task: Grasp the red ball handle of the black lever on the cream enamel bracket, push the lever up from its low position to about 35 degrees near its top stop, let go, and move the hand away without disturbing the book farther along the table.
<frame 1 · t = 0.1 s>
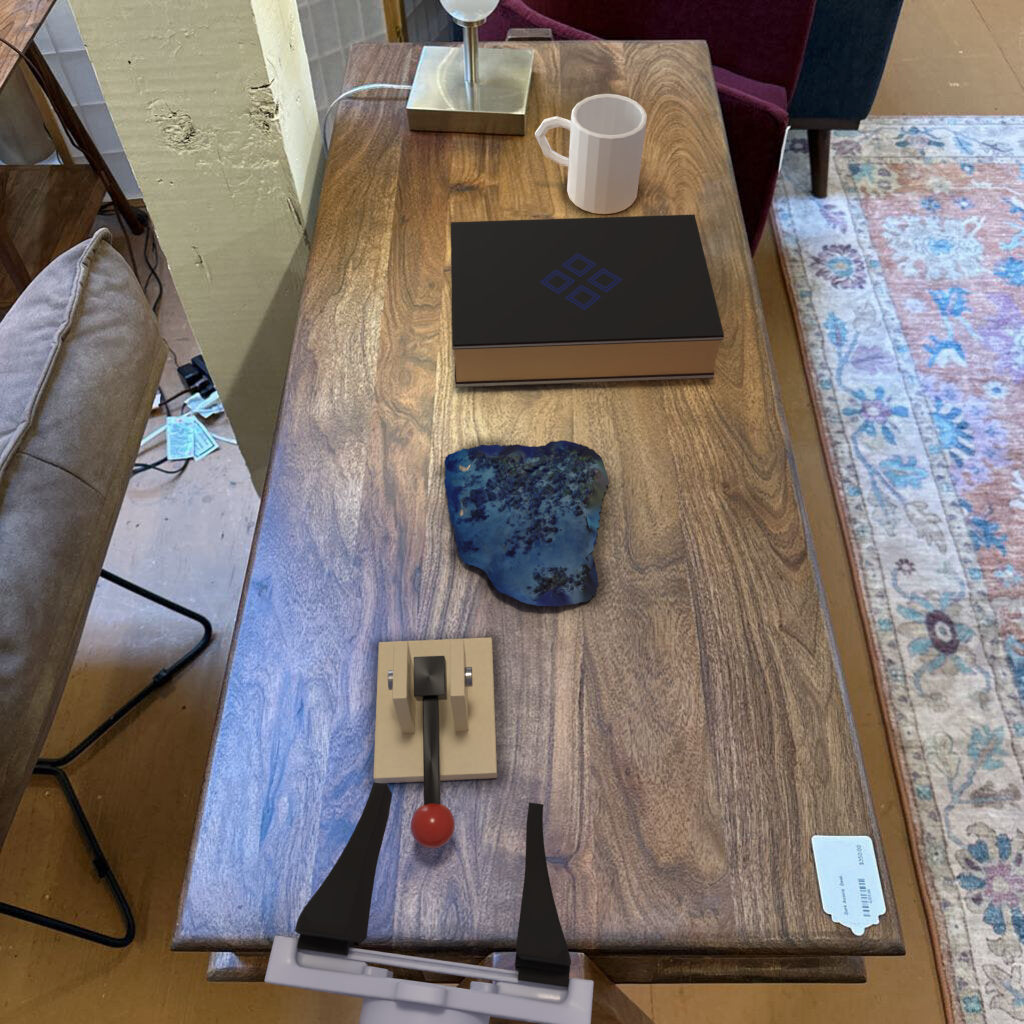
hand: (458, 797, 46), 22 cm above the table, tool horizontal, fingers open, 7 cm apart
lever: (431, 750, 65), point 5 cm above the table, hinge at -15.0°
mug: (585, 192, 107), on the table
rock: (528, 526, 81), on the table
book: (576, 327, 95), on the table
bracket: (436, 710, 71), on the table
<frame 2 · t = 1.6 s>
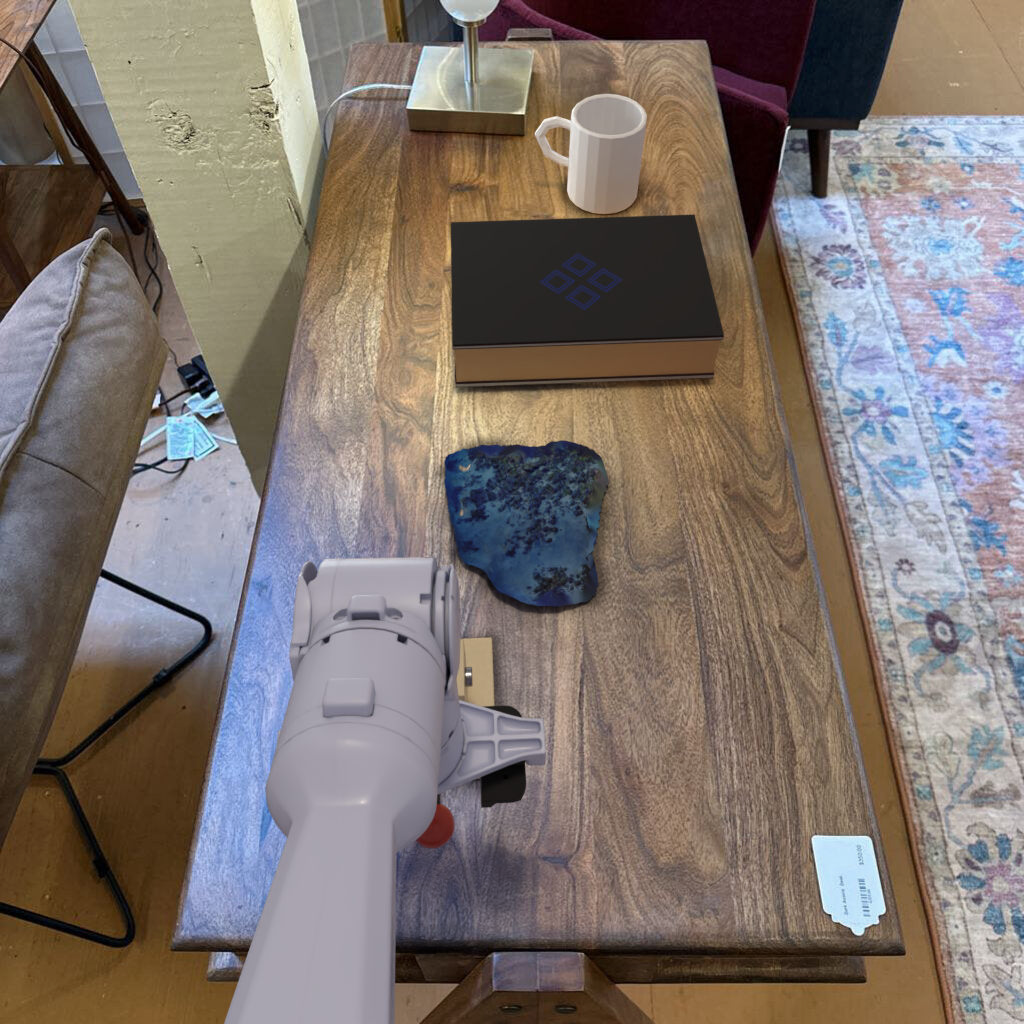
hand: (424, 794, 57), 10 cm above the table, tool pointing down, fingers open, 7 cm apart
nothing on the table moved.
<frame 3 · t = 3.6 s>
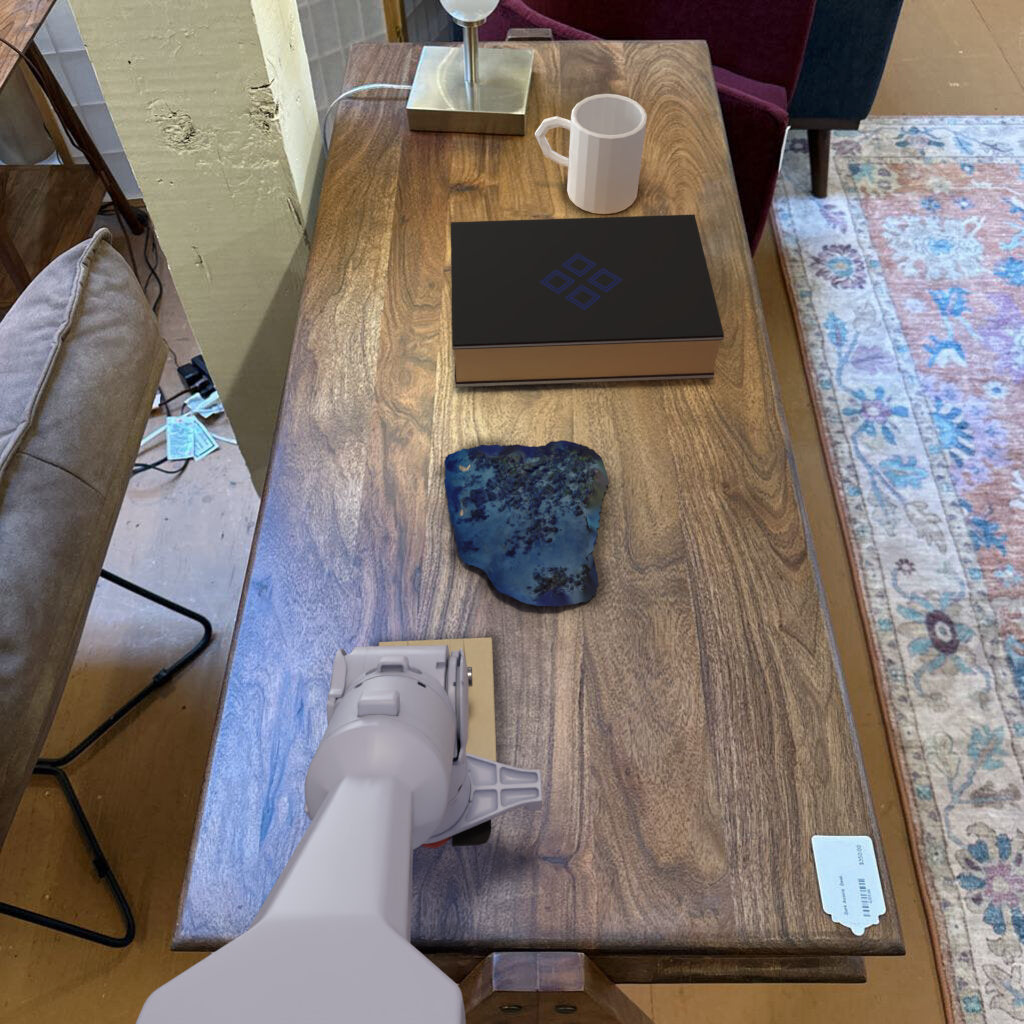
hand: (434, 831, 64), 2 cm above the table, tool pointing down, fingers closed on lever, 3 cm apart
lever: (431, 750, 65), point 5 cm above the table, hinge at -15.0°, touching gripper
everything else where it was.
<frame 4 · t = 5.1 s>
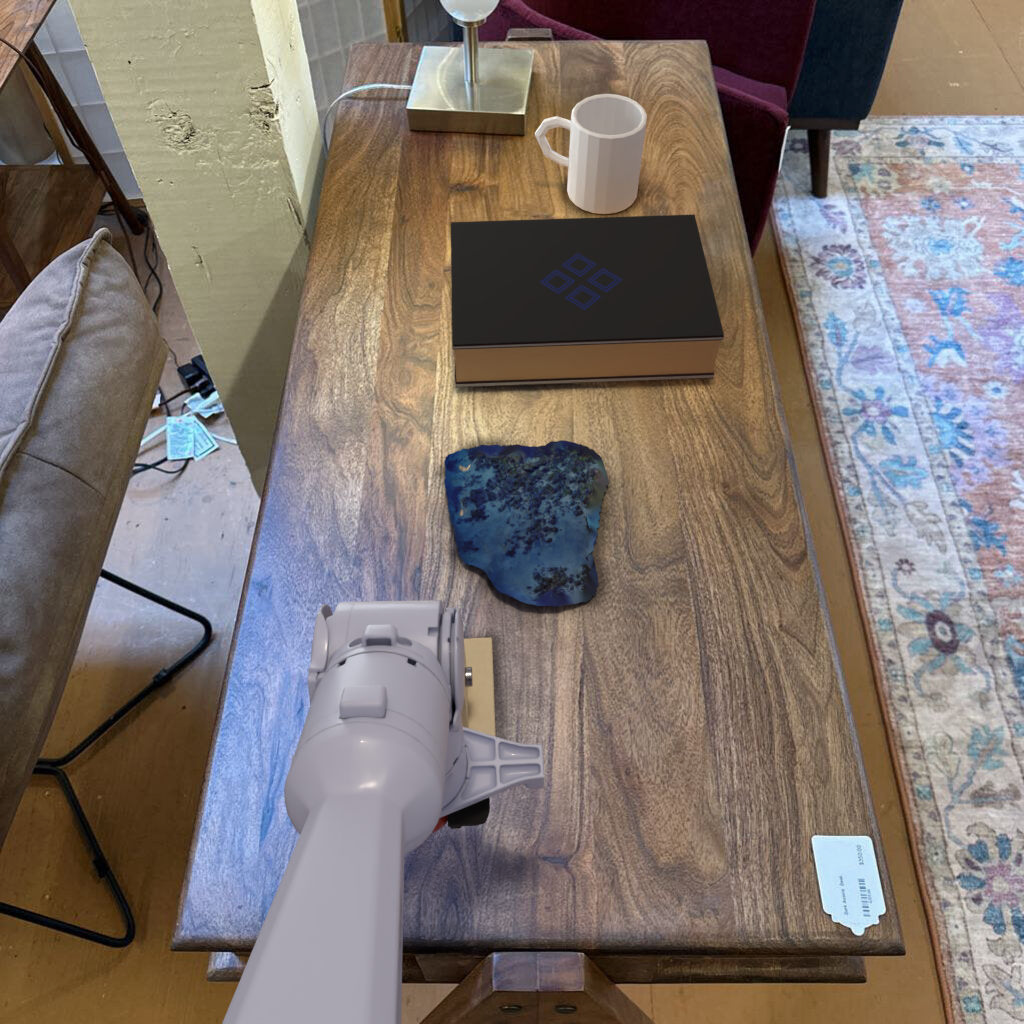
hand: (429, 814, 60), 6 cm above the table, tool pointing down, fingers closed on lever, 3 cm apart
lever: (429, 740, 63), point 7 cm above the table, hinge at 10.4°, touching gripper
everything else where it was.
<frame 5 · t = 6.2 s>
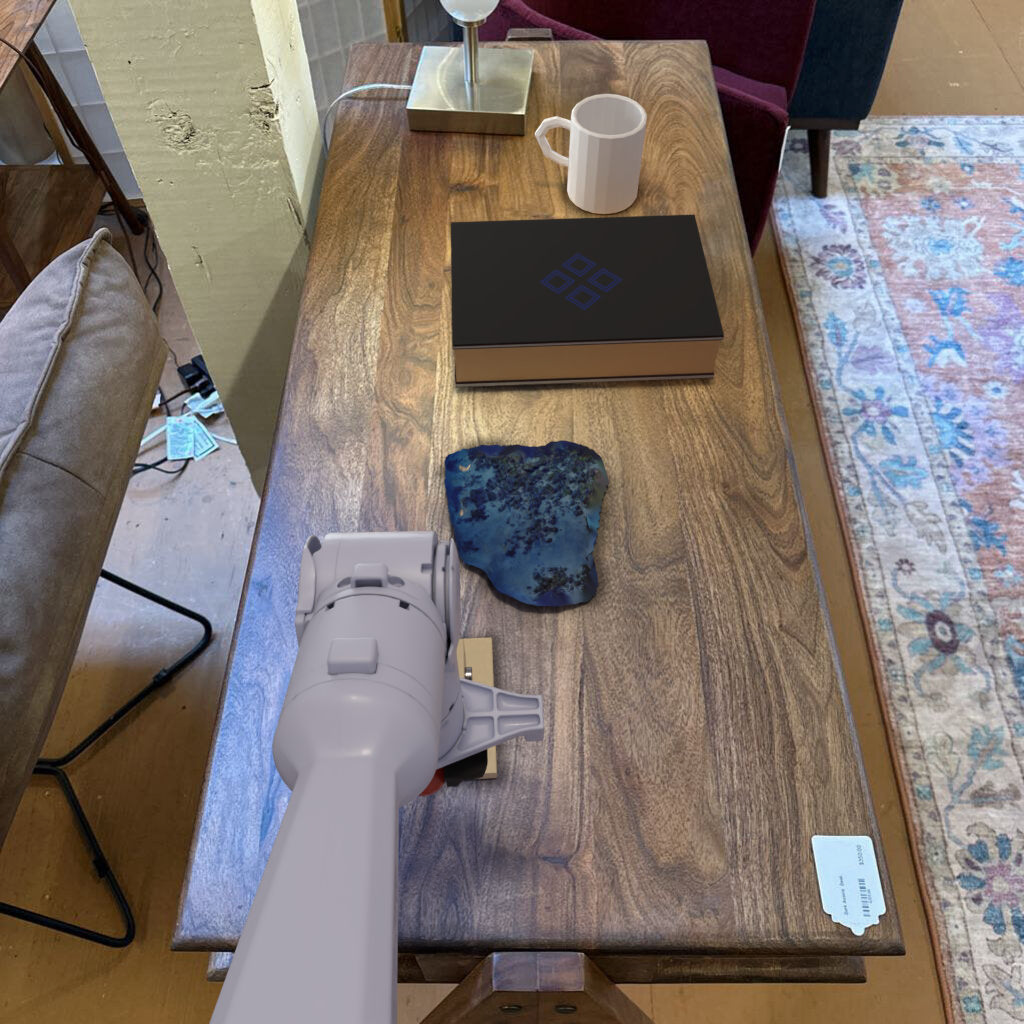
hand: (425, 772, 59), 10 cm above the table, tool pointing down, fingers closed on lever, 3 cm apart
lever: (427, 721, 62), point 9 cm above the table, hinge at 31.5°, touching gripper
everything else where it was.
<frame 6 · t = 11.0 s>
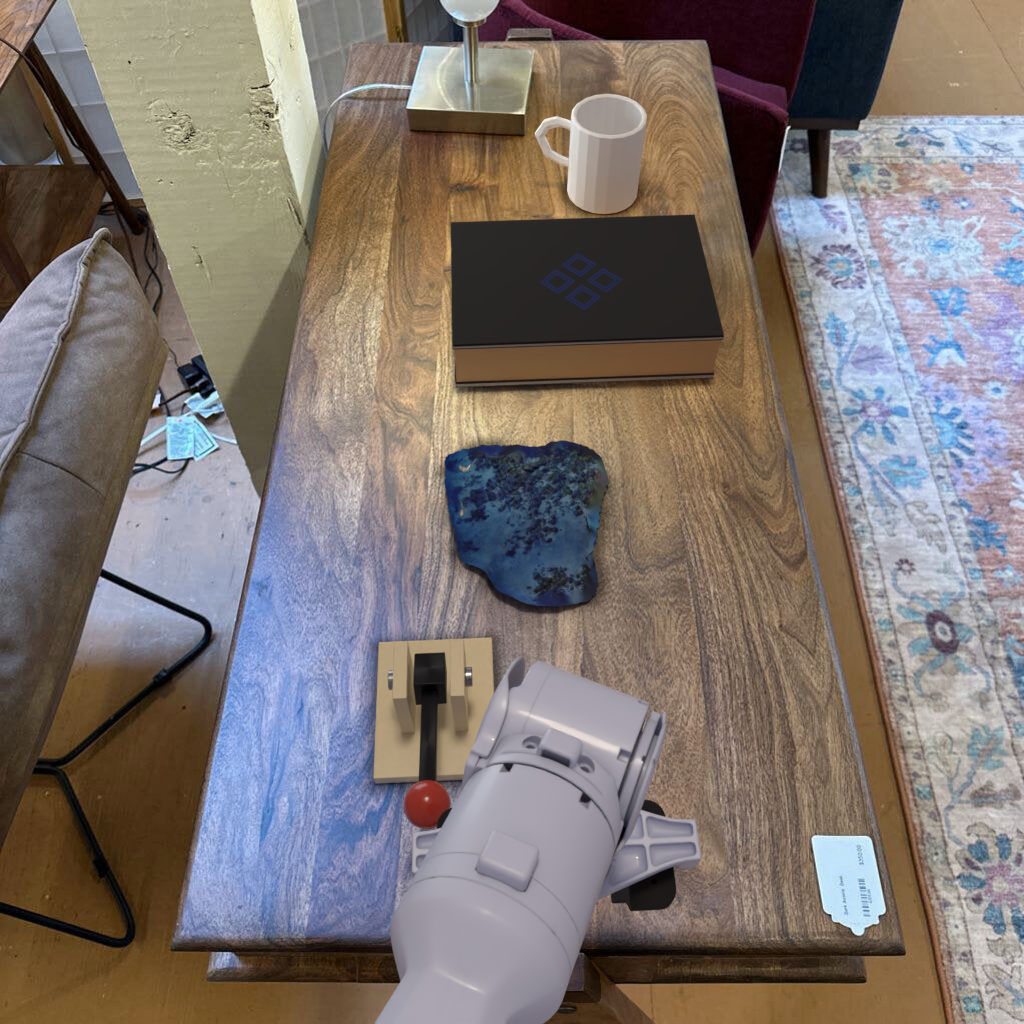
hand: (550, 887, 54), 10 cm above the table, tool pointing down, fingers open, 7 cm apart
lever: (428, 738, 63), point 7 cm above the table, hinge at 13.5°
everything else where it was.
at the end: lever reached +33° during the clip, +14° at the end; book moved 0.2 cm from its start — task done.
